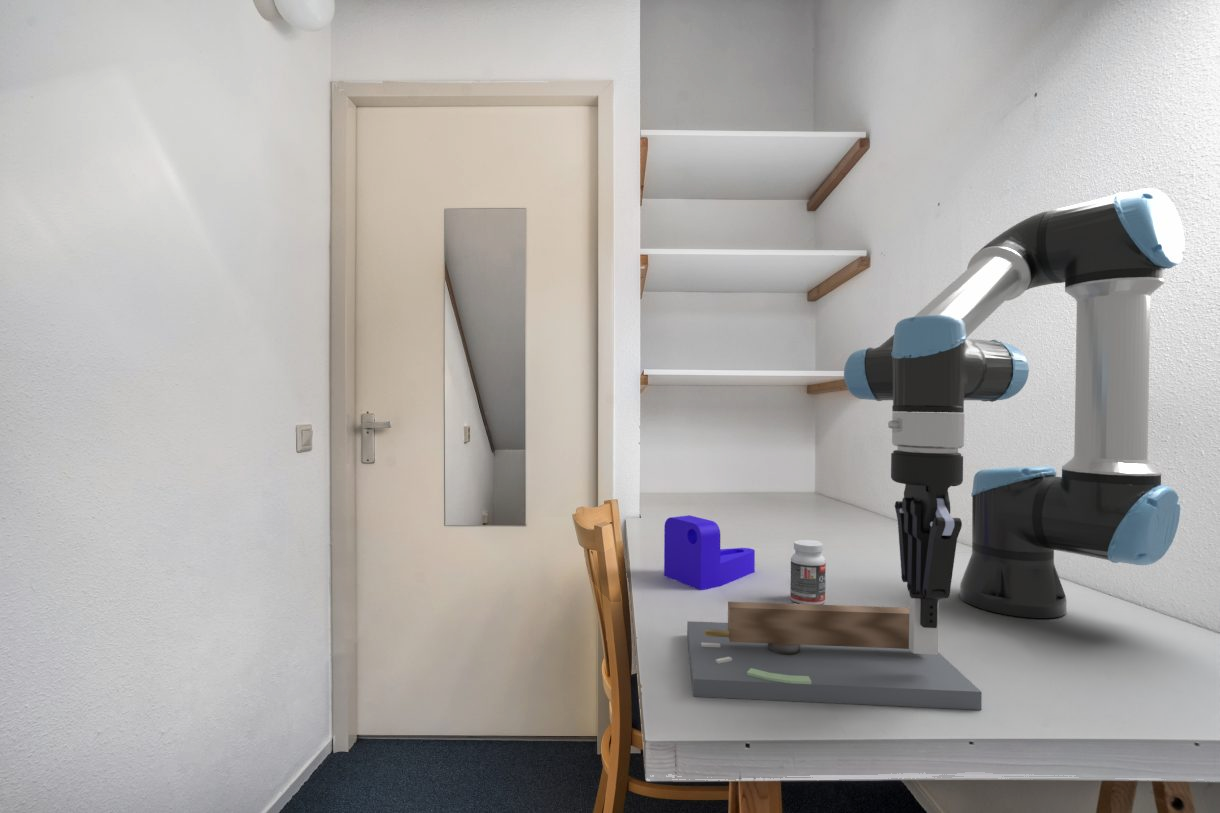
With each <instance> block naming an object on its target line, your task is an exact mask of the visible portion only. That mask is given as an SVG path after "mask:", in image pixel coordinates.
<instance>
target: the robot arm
mask: <svg viewBox="0 0 1220 813" xmlns="http://www.w3.org/2000/svg"><path fill="white" fill-rule="evenodd" d="M1185 245H1186V244H1185V233H1184V228H1183V224H1182V221H1181V218H1180V215H1179V212H1178V211H1177V208H1176V207H1175V205H1174V203H1173V201H1171V199H1170V198H1169V196H1167V195H1166V194H1165V193H1164V192H1162V191H1160V190H1158V189H1155V188H1142V189H1138V190H1133V191H1128V192H1127V191H1126V192H1117V193H1115V194H1112V195H1109V196H1105V197H1100V198H1097V199H1093V200H1089V201H1085V202H1081V203H1076V204H1073V205H1068V206H1065V207H1060V208H1056V209H1051V210H1046V211H1043V212H1038V213H1037V214H1034V215H1032V216H1029V217H1028V218H1026V219H1024V220H1022V221H1020V222H1018V223H1016V224H1014V225H1012V226H1011V227H1010V228H1008V229H1006V230H1004V231H1003V232H1002V233H1001V234H999V235H997V236H996V237H995V238H993V239H992V240H990V241H989V242H988V243H987V244H985V245H984V246H983V247H981V249H980V250H978V251H977V252H976V253H975V254H974V255H973V256H972V257H971V258H970V260H969V261H968V264H967V268H966V270H965V271H964V272H963V273H961V274H960V275H959V276H958V277H957V278H955V280H954V281H953V282H951V284H949V285H948V286H947V287H946V288H945V289H943V290H942V291H941V292H940V293H939V294H938V295H937V296H936V297H934V298H933V299H932V300H931V301H929V303H928V304H927V305H925V306H924V307H923V308H922V309H921V310H920V311H919V312H917V313H916V314H915V315H914V316H912V317H907V318H902V319H901V320H899V321H898V322H897V323H896V324H895V327H894V331H893V334H892V335H891V336H890V337H889V338H887V339H886V341H884V342H883V343H882V344H881V345H879V346H878V347H866V348H865V349H859V350H856V351H853V352H852V353H851V354H850V355H849V356H848V358H847V359H846V362H845V364H844V367H843V377H844V378H843V380H844V383H845V385H846V388H847V390H848V392H849V393H850V394H851V395H852V396H854V397H855V398H857V399H859V400H872V401H877V402H882V401H892V406H891V407H892V409H891V410H892V414H891V415H892V417H891V418H892V419H891V420H889V421H888V422H887V424H888V425H887V426H888V428H889V429H891V444H892V445H893V446H896V447H897V449H895V450H893V452H891V455H890V456H891V458H890V479H891V480H892V481H893V482H895V483H898V484H903V485H905V486H904V491H903V498H902V500H901V501H900V500H897V501H895V503H894V509H895V514H896V519H897V528H898V543H899V556H900V557H899V558H900V571H901V572H900V574H901V581H902V582H903V583H906V587H907V590H908V592H909V606H908V608H909V649H910V650H911V651H912V652H913V653H914V654H935V655H938V652H939V623H940V622H939V619H940V618H939V616H940V614H939V613H940V612H939V611H940V606H939V605H940V602H939V601H940V600H942V599H949V598H950V595H951V594H950V593H951V587H952V581H953V580H952V579H953V578H952V577H953V571H954V565H955V556H956V549H957V543H958V542H957V541H958V537H959V534H960V532H961V529H962V527H963V526H962V524H963V523H962V520H961V518H960V517H952V515H951V501H950V495H949V488H950V487H958V486H960V485H962V483H963V481H964V456H963V455H962V453H960V452H959V449H962V448H964V447H965V413H964V411H965V409H964V407H965V405H964V404H965V401H981V402H991V403H992V402H997V401H1003V400H1007V399H1010V398H1012V397H1013V396H1016V395H1017V394H1018V393H1019V392H1020V391H1021V390H1022V389H1023V388H1024V387H1025V385H1026V383H1027V381H1028V378H1029V373H1030V368H1029V363H1028V360H1027V357H1026V356H1025V354H1024V353H1023V352H1022V351H1021V350H1020V349H1019V348H1018V347H1017V346H1015V345H1013V344H1010V343H1006V342H1003V341H999V340H997V339H991V340H986V339H976V338H975V339H972V338H968V337H969V336H971V334H972V333H973V332H974V331H975V330H976V329H977V328H978V327H979V326H981V325H982V324H983V323H984V322H985V321H986V320H987V319H988V318H989V317H990V316H991V315H992V314H993V313H995V311H996V310H998V309H999V307H1000V306H1002V304H1004V303H1005V302H1006V301H1011V300H1015V299H1016V298H1018V297H1020V296H1022V295H1023V294H1024V293H1025V291H1027V290H1030V289H1033V288H1038V287H1041V286H1047V285H1054V284H1061V283H1062V284H1063V283H1064V292H1066V293H1067V294H1068V295H1069V296H1071V297H1072V298H1073V299H1074V300H1075V301H1076V327H1075V328H1076V330H1075V333H1076V334H1075V335H1076V336H1075V339H1076V340H1075V386H1074V388H1075V391H1074V393H1075V394H1074V396H1075V398H1074V406H1075V407H1074V444H1073V445H1074V448H1073V449H1074V450H1073V452H1074V455H1073V457H1072V458H1071V459H1070V460H1068V461H1067V462H1066V463H1065V464H1064V465H1062V466H1061V476H1057V471H1056V470H1055V468H1054V467H1053V466H1019V467H1018V466H1017V467H1001V468H1000V467H998V468H987V469H986V468H984V469H980V470H979V471H977V472H976V473H975V474H974V476H973V481H972V490H971V491H972V492H971V499H972V501H971V507H972V508H971V510H972V511H971V512H972V516H971V519H972V520H971V521H972V522H971V523H972V524H971V525H972V526H971V527H972V529H971V530H972V531H971V533H972V534H971V535H972V536H971V538H972V539H971V541H972V543H971V545H972V546H971V555H970V558H969V561H968V562H967V566H966V569H965V571H964V574H963V575H962V579H961V580H960V583H959V584H960V585H959V597H960V599H961V600H962V601H963V602H965V603H967V604H969V605H971V606H973V607H976V608H978V609H982V610H984V611H985V610H986V611H988V612H993V613H996V614H1001V615H1006V616H1013V617H1021V618H1029V619H1030V618H1031V619H1051V618H1052V619H1053V618H1060V617H1062V616H1064V615H1066V614H1067V610H1068V609H1067V608H1068V607H1067V606H1068V605H1067V604H1068V602H1067V600H1068V599H1067V596H1066V593H1065V591H1064V587H1063V585H1062V582H1061V579H1060V576H1059V574H1058V571H1057V568H1056V565H1055V551H1058V552H1064V553H1070V554H1075V555H1081V556H1085V557H1089V558H1095V559H1101V560H1104V561H1105V560H1107V561H1109V562H1111V563H1113V564H1119V563H1122V564H1130V565H1135V566H1148V565H1153V564H1155V563H1157V562H1158V561H1159V560H1161V559H1162V558H1163V557H1164V556H1165V555H1166V554H1167V551H1169V549H1170V547H1171V545H1172V544H1173V542H1174V539H1175V536H1176V533H1177V530H1178V526H1179V522H1180V517H1181V505H1180V504H1181V503H1180V502H1179V498H1180V497H1179V496H1178V493H1177V492H1176V490H1175V489H1173V488H1171V487H1169V486H1167V485H1162V472H1161V471H1160V470H1159V469H1158V468H1157V467H1156V466H1154V465H1153V464H1152V463H1151V462H1150V461H1149V459H1148V456H1149V454H1148V450H1149V448H1148V447H1149V445H1148V444H1149V398H1150V397H1149V393H1150V392H1149V390H1150V384H1149V383H1150V337H1151V336H1150V332H1151V331H1150V330H1151V329H1150V328H1151V324H1150V323H1151V296H1152V295H1153V293H1154V292H1156V291H1157V290H1158V289H1159V288H1161V286H1163V285H1164V284H1165V274H1166V273H1165V271H1166V269H1172V268H1174V267H1176V266H1177V265H1179V264H1180V263H1181V262H1182V260H1183V256H1184V255H1183V254H1184V253H1185V249H1186V248H1185Z"/></svg>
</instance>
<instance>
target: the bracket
mask: <svg viewBox="0 0 1220 813" xmlns="http://www.w3.org/2000/svg"><path fill="white" fill-rule="evenodd" d="M663 532H664V535H663V536H664V540H663V541H664V544H663V546H664V548H663V549H664V552H663V553H664V554H663V560H664V561H663V562H664V563H663V565H664V566H663V567H664V568H663V575H664V577H666V578H668V579H671V580H673V581H676V582H678V583H681V584H683V585H686V586H689V587H692V588H694V589H696V590H699V591H704V590H710V589H714V588H720V587H722V586H724V585H727V584H729V583H732V582H735V581H737V580H740V579H742V578H743V577H744V578H745V577H746V576H748V575H749V576H750V575H751V574H753V573H755V572H756V571H755V570H756V569H755V568H756V566H755V565H756V559H755V555H756V553H755V552H756V550H755V549H753V548H749V547H737V548H736V547H735V548H732V547H731V548H721V529H720V526H719V525H718V523H717V522H716V521H714V520H711V519H710V520H709V519H707V518H702V517H697V516H694V515H681V516H680V515H679V516H674V517H673V516H672V517H671V516H670V517H669V518H666V520H665V522H664V531H663Z"/></svg>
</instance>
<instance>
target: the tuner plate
mask: <svg viewBox="0 0 1220 813" xmlns="http://www.w3.org/2000/svg"><path fill="white" fill-rule="evenodd" d="M686 623H687V625H686V626H687V632H686V634H687V636H686V637H687V638H686V639H687V646H688V656H689V665H690V677H691V688H692V697H696V698H697V697H699V698H716V699H717V698H719V699H721V698H722V699H738V700H741V699H742V700H759V701H760V700H762V701H764V700H765V701H767V700H768V701H784V702H785V701H786V702H805V703H825V704H826V703H828V704H846V705H847V704H849V705H850V704H851V705H868V706H870V705H871V706H892V707H893V706H894V707H908V708H910V707H912V708H931V709H932V708H933V709H934V708H935V709H950V710H951V709H956V710H957V709H958V710H972V711H973V710H976V711H977V710H978V711H981V710H982V697H983V696H982V691H981V689H979V688H978V687H977V686H976V685H975V684H974V683H973V682H972V681H970V680H969V679H968V678H967V677H966V676H965V675H964V674H962V672H961V671H959V670H958V669H957V668H956V667H955V666H954V665H953V664H952V663H951V662H950V661H949V660H947V659H946V658H945V656H943V655H942V654H941V653H940V652H939V651H938V655H935V654H914V653H913V652H912V651H911V650H910V649H898V648H872V647H847V646H821V645H800V652H798V653H796V654H790V655H787V654H779V653H775V652H773V651H771V650H769V649H768V643H744V642H730V641H729V637H710V636H705V629H706V630H728V622H721V621H720V622H719V621H716V622H715V621H714V622H713V621H687V622H686Z"/></svg>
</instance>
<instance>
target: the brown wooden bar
mask: <svg viewBox="0 0 1220 813" xmlns="http://www.w3.org/2000/svg"><path fill="white" fill-rule="evenodd" d="M727 623H728V630H706V629H705V636H710V637H729V641H730V642H744V643H768V649H769V650H771V651H773V652H775V653H779V654H787V655H790V654H796V653H798V652H800V645H821V646H847V647H872V648H898V649H909V607H903V606H901V607H898V606H896V607H895V606H867V605H845V604H844V605H840V604H838V605H837V604H834V605H833V604H820V605H814V604H799V603H779V602H778V603H777V602H753V601H752V602H751V601H750V602H748V601H747V602H746V601H727Z"/></svg>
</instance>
